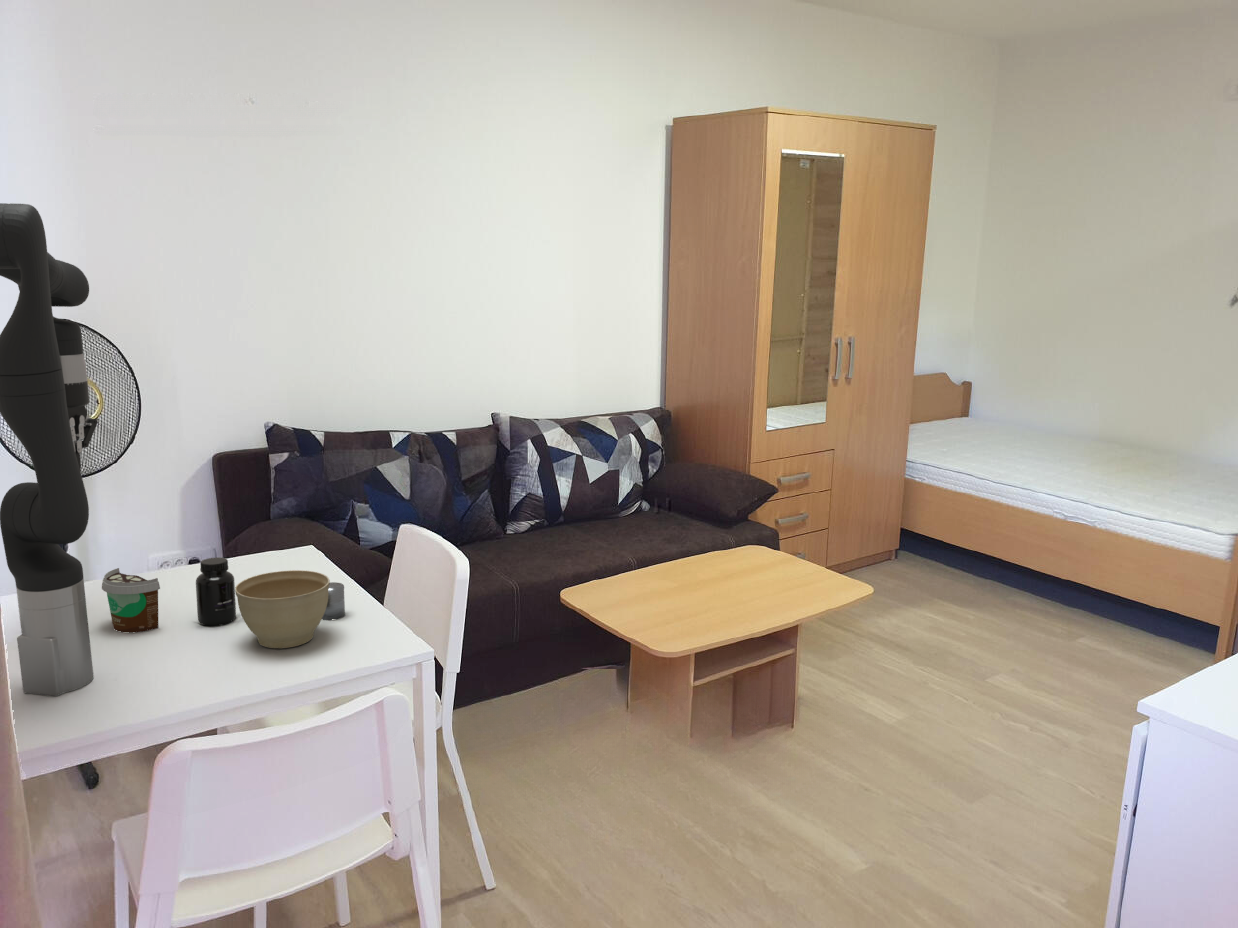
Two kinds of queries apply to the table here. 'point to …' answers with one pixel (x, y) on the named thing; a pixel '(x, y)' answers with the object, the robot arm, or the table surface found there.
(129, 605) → the food container
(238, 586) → the planter bowl
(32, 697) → the table surface
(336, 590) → the dark grey metal cylinder
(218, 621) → the supplement bottle
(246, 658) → the table surface
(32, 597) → the robot arm
